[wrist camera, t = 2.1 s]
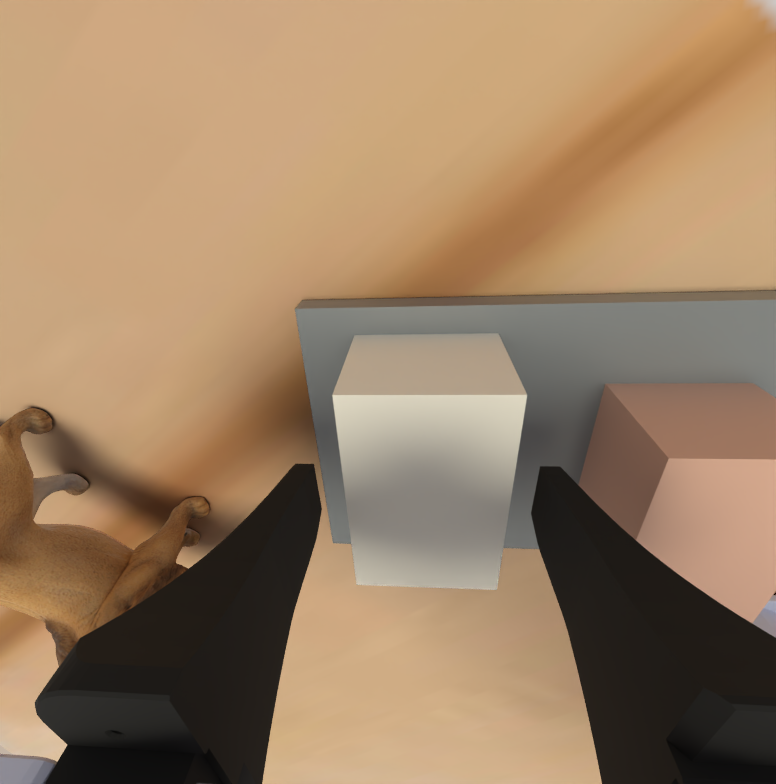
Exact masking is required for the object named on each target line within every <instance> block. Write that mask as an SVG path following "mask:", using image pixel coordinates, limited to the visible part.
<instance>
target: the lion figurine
mask: <svg viewBox="0 0 776 784" xmlns="http://www.w3.org/2000/svg"><path fill="white" fill-rule="evenodd" d="M51 429H52V419H51V418H50V416H49V415H48V414H47V413H46V412H44V411H42V410H39V409H35V408H31V409H26V410H23V411H21V412H19V413H17V414H15V415H14V416H13V417H11V418H10V419H9V420H7V421H6V422H5V423H4V424H3V425H2V426H1V427H0V605H1V606H4V607H7V608H10V609H13V610H16V611H19V612H22V613H25V614H27V615H30V616H32V617H34V618H37V619H39V620H41V621H43V622H45V623H46V629H47V630H48V631H49V632H50V633H52V637H53V639H54V641H55V644H56V656H57V660H58V665H59V666H60V665H61V663H62V662H63V661H64V659H65V658H66V656H67V655H68V654H69V652H70V651H71V650H72V648H73V647H74V645H75V644H76V643H77V642H78V640H79V639H80V638H81V637H83V636H84V635H86V634H88V633H90V632H92V631H93V630H95V629H97V628H99V627H100V626H102V625H104V624H106V623H107V622H109V621H111V620H112V619H114V618H116V617H118V616H119V615H121V614H123V613H124V612H126V611H128V610H129V609H131V608H133V607H134V606H136V605H137V604H139V603H140V602H142V601H144V600H145V599H147V598H148V597H150V596H151V595H153V594H154V593H156V592H157V591H159V590H160V589H162V588H163V587H165V586H166V585H168V584H169V583H170V582H172V581H173V580H174V579H176V578H177V577H178V576H180V575H181V574H182V573H184V572H185V571H186V570H188V568H186V567H183V566H182V565H179V564H176V559H177V556H178V554H179V552H180V550H181V549H182V547H185V546H186V547H190V546H194V545H196V544H197V543H198V541H199V539H200V535H199V533H197V532H196V531H194V530H192V529H190V528H186V527H187V524H188V522H189V520H190V519H191V518H202V517H203V516H206V515H207V514H208V513H209V512H210V509H209V505H208V503H207V502H206V500H205V499H204V498H202V497H192V498H187V499H185V500H184V501H183V502H181V503H180V505H179V506H177V507H175V508H174V509H173V511H172V513H171V515H170V517H169V519H168V520H167V522H166V523H165V524H164V526H163V527H162V528H161V529H160V530H159V531H158V532H157V533H156V534H155V535H153V536H152V537H151V538H150V539H148V540H146V541H145V542H143V543H141V544H140V545H139V546H138V547H137V548H136V549H135V550H132V549H130V548H128V547H127V546H125V545H124V544H122V543H121V542H119V541H117V540H116V539H114V538H112V537H111V536H109V535H107V534H105V533H103V532H101V531H98V530H95V529H93V528H89V527H85V526H80V525H69V524H36V523H35V522H34V520H33V519H34V517H35V515H36V512H37V510H38V508H39V506H40V504H41V502H42V501H43V500H44V499H45V498H46V497H47V496H48V495H50V494H51V493H53V492H56V491H60V490H65V491H66V492H68V493H69V494H72V495H80V494H82V493H84V492H85V491H86V490H87V489H88V486H89V484H88V483H87V481H86V480H85V479H83V478H82V477H81V476H79V475H77V474H72V473H71V474H63V475H56V476H49V477H42V478H33V472H32V470H31V467H30V465H29V462H28V460H27V457H26V454H25V452H24V449H23V447H22V444H21V438H20V437H21V434H22V433H23V432H24V431H28V432H31V433H34V434H42V433H45V432H49V431H50V430H51Z"/></svg>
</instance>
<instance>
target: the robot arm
mask: <svg viewBox="0 0 776 784" xmlns="http://www.w3.org/2000/svg"><path fill="white" fill-rule="evenodd" d="M321 510H322V508H321V503H320V497H319V491H318V485H317V480H316V474H315V468H314V464H295V465H294V466H293V467H292V468H291V469H290V470H289V471H288V473H287V474H286V475H285V476H284V477H283V478H282V480H281V481H280V482H279V483H278V484H277V485H276V487H275V488H274V489H273V490H272V491H271V492H270V493H269V495H268V496H267V497H266V498H265V499H264V500H263V501H262V502H261V503H260V504H259V505H258V506H257V508H256V509H255V510H254V511H253V512H252V513H251V514H250V515H249V516H248V517H247V518H246V519H245V520H244V521H243V522H242V523H241V524H240V525H239V526H238V527H237V528H236V529H235V530H234V531H233V532H232V533H231V534H230V535H229V536H227V537H226V538H225V539H224V540H223V541H222V542H221V543H220V544H219V545H218V546H216V547H215V548H214V549H213V550H212V551H211V552H209V553H208V554H207V555H206V556H205V557H203V558H202V559H201V560H200V561H198V562H197V563H196V564H194V565H193V566H192V567H190V568H189V569H188V570H186V571H185V572H184V573H182V574H181V575H180V576H178V577H177V578H176V579H174V580H173V581H172V582H170V583H169V584H168V585H166V586H165V587H163V588H162V589H160V590H159V591H157V592H156V593H154V594H153V595H151V596H150V597H148V598H147V599H145V600H144V601H142V602H140V603H139V604H137V605H136V606H134V607H133V608H131V609H129V610H128V611H126V612H124V613H123V614H121V615H119V616H118V617H116V618H114V619H112V620H111V621H109V622H107V623H106V624H104V625H102V626H100V627H99V628H97V629H95V630H93V631H92V632H90V633H88V634H86V635H84V636H83V637H81V638H80V639H79V640H78V642H77V643H76V644H75V645H74V647H73V648H72V650H71V651H70V652H69V654H68V655H67V656H66V658H65V659H64V661H63V662H62V663H61V665H60V666H59V668H58V669H57V671H56V672H55V673H54V675H53V676H52V678H51V679H50V681H49V682H48V683H47V685H46V686H45V688H44V689H43V691H42V692H41V693H40V695H39V696H38V698H37V700H36V702H35V708H36V712H37V715H38V716H39V717H40V719H41V720H42V721H43V722H44V723H45V724H46V725H47V726H48V727H49V728H50V729H51V730H52V731H53V732H55V733H56V734H57V735H58V736H59V737H60V738H61V739H62V740H63V741H64V742H65V743H66V744H67V747H66V749H65V750H64V752H63V754H62V755H61V757H60V759H59V760H58V762H56V761H54V760H51V759H48V758H44V757H36V756H22V755H7V754H0V784H262V780H263V774H264V767H265V761H266V755H267V748H268V742H269V736H270V730H271V724H272V718H273V713H274V707H275V702H276V696H277V690H278V685H279V680H280V675H281V670H282V665H283V659H284V654H285V649H286V645H287V640H288V635H289V631H290V626H291V621H292V617H293V613H294V610H295V606H296V603H297V599H298V596H299V593H300V590H301V587H302V583H303V580H304V577H305V574H306V571H307V567H308V564H309V561H310V558H311V555H312V551H313V548H314V545H315V541H316V538H317V532H318V527H319V522H320V516H321ZM531 516H532V521H533V525H534V530H535V534H536V539H537V543H538V546H539V549H540V552H541V555H542V558H543V561H544V564H545V566H546V569H547V572H548V575H549V578H550V580H551V583H552V586H553V589H554V592H555V594H556V597H557V600H558V603H559V606H560V608H561V611H562V614H563V617H564V620H565V623H566V627H567V630H568V633H569V637H570V641H571V645H572V649H573V653H574V657H575V661H576V665H577V669H578V673H579V677H580V682H581V686H582V690H583V694H584V699H585V703H586V707H587V712H588V717H589V721H590V726H591V731H592V735H593V740H594V745H595V749H596V754H597V759H598V765H599V770H600V775H601V780H602V784H776V595H773V596H772V597H771V599H770V600H769V601H768V603H767V604H766V605H765V607H764V608H763V609H762V611H761V612H760V614H759V615H758V616H757V618H756V619H755V620H754V622H753V623H751V622H749V621H747V620H746V619H744V618H742V617H741V616H739V615H738V614H736V613H735V612H733V611H731V610H730V609H728V608H727V607H725V606H724V605H722V604H720V603H719V602H717V601H716V600H715V599H713V598H712V597H710V596H709V595H707V594H706V593H704V592H703V591H701V590H700V589H698V588H697V587H696V586H694V585H693V584H691V583H690V582H688V581H687V580H686V579H684V578H683V577H682V576H680V575H679V574H677V573H676V572H675V571H673V570H672V569H671V568H670V567H668V566H667V565H666V564H664V563H663V562H662V561H661V560H659V559H658V558H657V557H655V556H654V555H653V554H652V553H650V552H649V551H648V550H647V549H646V548H644V547H643V546H642V545H641V544H640V543H638V542H637V541H636V540H635V539H634V538H633V537H632V536H630V535H629V534H628V533H627V532H626V531H625V530H624V529H622V528H621V527H620V526H619V525H618V524H617V523H616V522H615V521H614V520H613V519H612V518H611V517H610V516H609V515H608V514H607V513H606V512H605V511H603V510H602V509H601V508H600V507H599V506H598V505H597V504H596V503H595V502H594V501H593V500H592V499H591V498H590V497H589V496H588V495H587V494H586V492H585V491H584V490H583V489H582V488H581V487H580V486H579V485H578V484H577V483H576V482H575V481H574V480H573V479H572V478H571V477H570V476H569V475H568V474H567V473H566V472H565V471H564V470H563V469H562V468H561V467H560V466H540V469H539V474H538V480H537V485H536V490H535V495H534V500H533V505H532V510H531Z"/></svg>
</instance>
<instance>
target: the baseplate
mask: <svg viewBox="0 0 776 784" xmlns="http://www.w3.org/2000/svg"><path fill="white" fill-rule="evenodd" d="M295 312H296V318H297V325H298V331H299V337H300V343H301V349H302V355H303V361H304V368H305V374H306V380H307V386H308V392H309V398H310V404H311V411H312V417H313V423H314V429H315V435H316V441H317V448H318V454H319V460H320V466H321V472H322V478H323V484H324V491H325V497H326V503H327V509H328V515H329V521H330V527H331V534H332V540H333V543H344V544H351V537H350V529H349V521H348V513H347V506H346V498H345V490H344V482H343V475H342V467H341V459H340V451H339V443H338V436H337V428H336V420H335V412H334V405H333V397H332V395H333V392H334V389H335V386H336V384H337V381H338V378H339V376H340V373H341V370H342V368H343V365H344V362H345V360H346V357H347V354H348V351H349V349H350V346H351V343H352V341H353V338H354V335H402V334H477V333H498V334H499V336H500V338H501V340H502V342H503V344H504V347H505V349H506V351H507V353H508V355H509V357H510V359H511V361H512V364H513V366H514V368H515V370H516V372H517V374H518V376H519V378H520V381H521V383H522V385H523V387H524V389H525V391H526V393H527V399H526V406H525V412H524V419H523V425H522V431H521V438H520V444H519V451H518V457H517V463H516V470H515V476H514V483H513V489H512V495H511V502H510V508H509V515H508V521H507V527H506V534H505V540H504V547H503V548H522V549H539V546H538V543H537V539H536V534H535V530H534V525H533V521H532V516H531V510H532V505H533V500H534V495H535V490H536V485H537V480H538V474H539V469H540V466H560V467H561V468H562V469H563V470H564V471H565V472H566V473H567V474H568V475H569V476H570V477H571V478H572V479H573V480H574V481H575V482H576V483H577V484H578V485H579V481H580V477H581V473H582V470H583V466H584V462H585V458H586V455H587V451H588V447H589V443H590V439H591V436H592V432H593V428H594V424H595V421H596V417H597V413H598V409H599V406H600V402H601V398H602V394H603V391H604V387H605V384H648V383H754V384H755V385H757V386H758V387H760V388H761V389H763V390H764V391H766V392H767V393H769V394H770V395H772V396H773V397H775V398H776V290H771V291H723V292H674V293H626V294H577V295H528V296H480V297H431V298H382V299H334V300H302V301H301V302H300V303H299V305H298V306H297V307H296V308H295Z"/></svg>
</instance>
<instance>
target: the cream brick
mask: <svg viewBox="0 0 776 784" xmlns="http://www.w3.org/2000/svg"><path fill="white" fill-rule="evenodd" d="M332 397H333V405H334V412H335V420H336V428H337V436H338V443H339V451H340V459H341V467H342V475H343V482H344V490H345V498H346V506H347V513H348V521H349V529H350V537H351V545H352V552H353V560H354V568H355V576H356V583H357V585H375V586H402V587H430V588H457V589H485V590H497V585H498V579H499V572H500V566H501V559H502V553H503V547H504V540H505V534H506V527H507V521H508V515H509V508H510V502H511V495H512V489H513V483H514V476H515V470H516V463H517V457H518V451H519V444H520V438H521V431H522V425H523V419H524V412H525V406H526V399H527V393H526V391H525V389H524V387H523V385H522V383H521V381H520V378H519V376H518V374H517V372H516V370H515V368H514V366H513V364H512V361H511V359H510V357H509V355H508V353H507V351H506V349H505V347H504V344H503V342H502V340H501V338H500V336H499V334H498V333H477V334H402V335H354V338H353V341H352V343H351V346H350V349H349V351H348V354H347V357H346V360H345V362H344V365H343V368H342V370H341V373H340V376H339V378H338V381H337V384H336V386H335V389H334V392H333V395H332Z"/></svg>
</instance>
